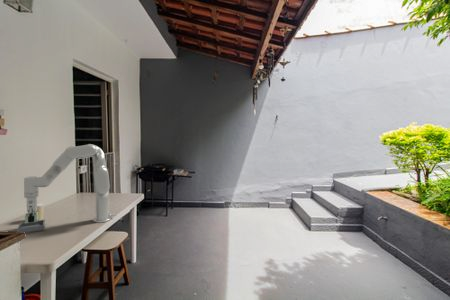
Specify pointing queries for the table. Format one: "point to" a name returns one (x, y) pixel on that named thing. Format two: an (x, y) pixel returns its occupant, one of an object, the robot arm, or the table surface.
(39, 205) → the coffee cup
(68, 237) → the table surface
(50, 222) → the table surface
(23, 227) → the large crate
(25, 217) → the box
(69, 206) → the table surface
